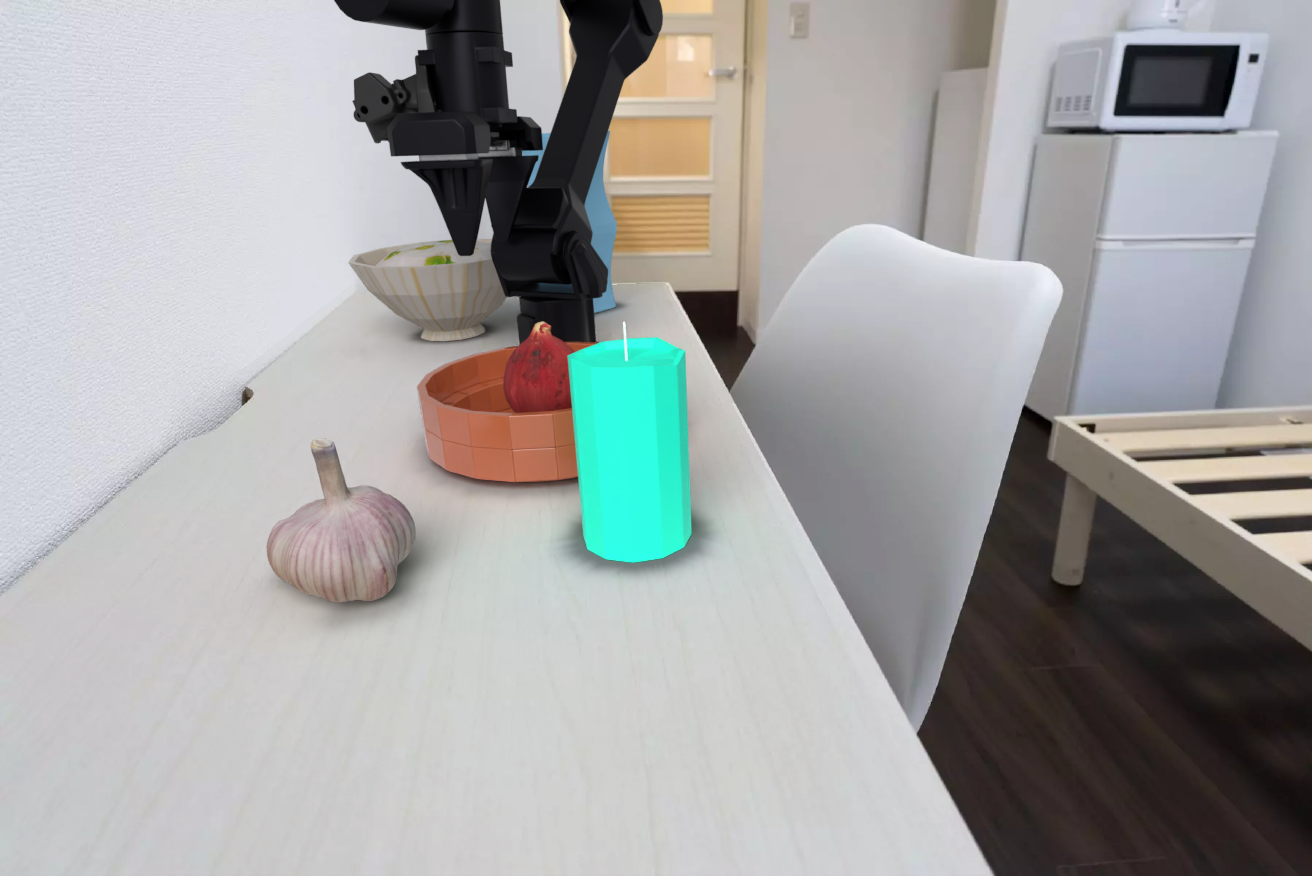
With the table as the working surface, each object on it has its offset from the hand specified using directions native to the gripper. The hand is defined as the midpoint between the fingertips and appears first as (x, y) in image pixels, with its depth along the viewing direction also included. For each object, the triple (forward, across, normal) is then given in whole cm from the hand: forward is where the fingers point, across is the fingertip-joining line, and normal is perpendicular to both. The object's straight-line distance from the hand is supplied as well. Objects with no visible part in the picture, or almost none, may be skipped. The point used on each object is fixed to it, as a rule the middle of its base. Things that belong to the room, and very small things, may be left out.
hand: (485, 248), depth 68 cm
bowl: (+12, -20, -12) cm, 26 cm away
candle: (+13, +26, +16) cm, 33 cm away
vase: (+11, -32, 0) cm, 34 cm away
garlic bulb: (+13, +31, +2) cm, 34 cm away
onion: (+12, +11, +7) cm, 18 cm away
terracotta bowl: (+12, +12, +8) cm, 18 cm away
